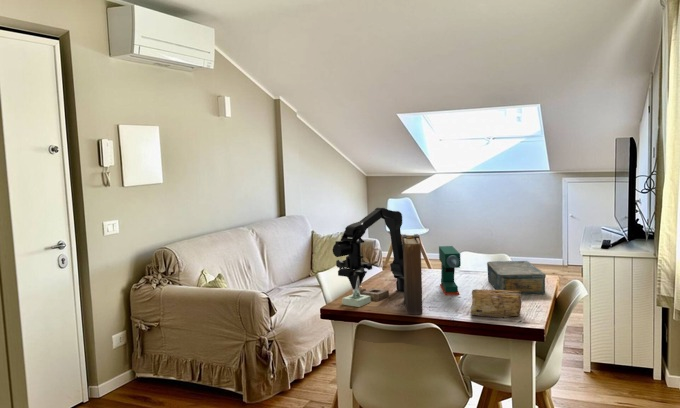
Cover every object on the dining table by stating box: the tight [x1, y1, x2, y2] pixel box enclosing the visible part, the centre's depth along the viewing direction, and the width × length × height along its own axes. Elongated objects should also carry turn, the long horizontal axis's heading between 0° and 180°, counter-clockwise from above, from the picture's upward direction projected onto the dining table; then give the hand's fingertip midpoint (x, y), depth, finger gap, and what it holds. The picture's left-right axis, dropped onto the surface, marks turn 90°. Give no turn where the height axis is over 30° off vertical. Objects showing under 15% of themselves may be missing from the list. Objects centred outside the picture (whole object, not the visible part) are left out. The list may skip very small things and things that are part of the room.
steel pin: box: [352, 276, 360, 297], centre depth 243 cm, size 3×3×9 cm
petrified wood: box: [470, 288, 522, 318], centre depth 219 cm, size 19×13×10 cm
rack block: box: [341, 293, 371, 308], centre depth 244 cm, size 9×9×3 cm
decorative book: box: [401, 233, 424, 315], centre depth 233 cm, size 23×7×30 cm, turn 176°
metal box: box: [486, 260, 547, 295], centre depth 263 cm, size 21×32×10 cm, turn 175°
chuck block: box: [362, 287, 390, 301], centre depth 253 cm, size 9×9×3 cm
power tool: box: [438, 245, 462, 296], centre depth 254 cm, size 32×7×20 cm, turn 177°
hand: (356, 288), depth 244 cm, fingers closed on steel pin, 3 cm apart
